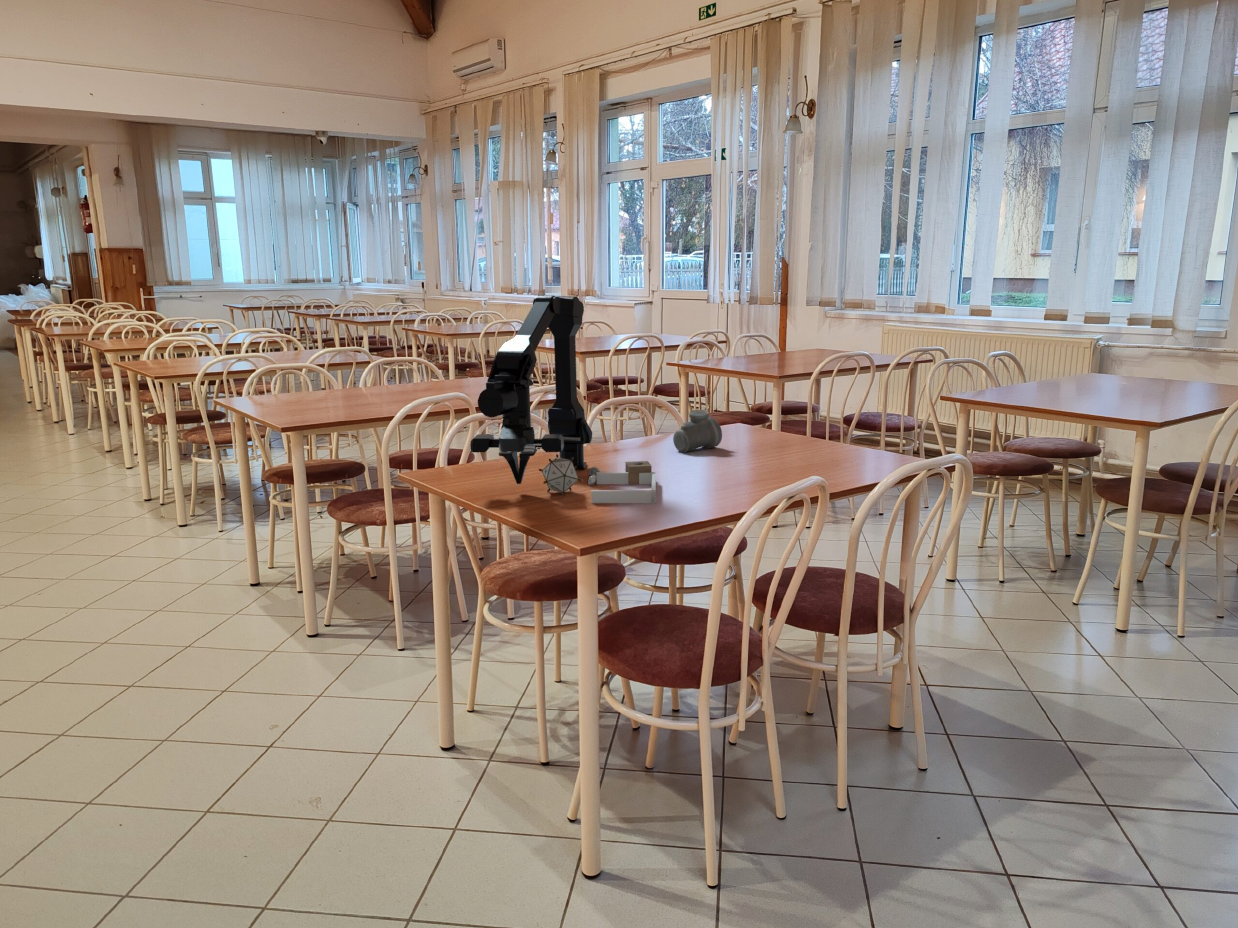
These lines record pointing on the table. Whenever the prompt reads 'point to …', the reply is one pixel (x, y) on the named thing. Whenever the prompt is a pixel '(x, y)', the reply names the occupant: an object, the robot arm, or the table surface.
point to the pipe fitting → (698, 432)
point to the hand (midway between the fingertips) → (519, 483)
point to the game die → (560, 474)
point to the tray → (624, 495)
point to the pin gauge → (592, 475)
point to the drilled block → (637, 470)
